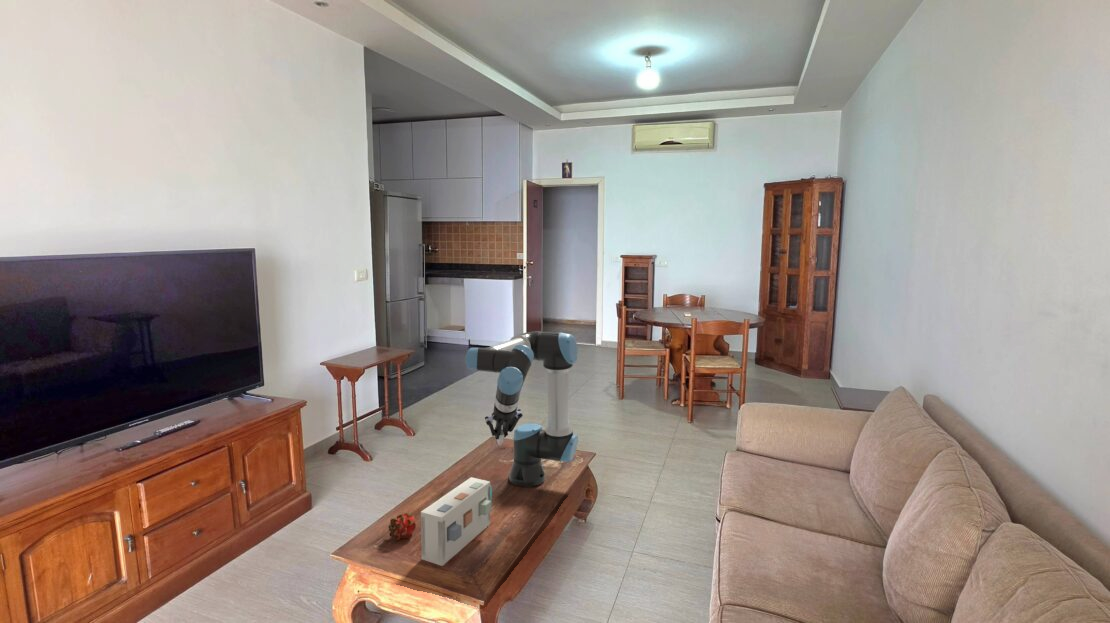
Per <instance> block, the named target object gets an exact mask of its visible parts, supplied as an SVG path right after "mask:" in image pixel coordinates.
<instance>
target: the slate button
mask: <svg viewBox="0 0 1110 623" xmlns="http://www.w3.org/2000/svg"><path fill="white" fill-rule="evenodd" d="M461 536H462V528H461V525H459V524H456V523H452V524H451V525H450V526H448V527H447V539H449V540H452V541H456V540H457V539H458V538H460V537H461Z"/></svg>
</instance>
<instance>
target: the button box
mask: <svg viewBox="0 0 1110 623" xmlns="http://www.w3.org/2000/svg"><path fill="white" fill-rule="evenodd" d="M490 486H491V481H489V480H486V479H480V478H476V477H472V476H470V477H469V478H468V479H466V480H465V481H463V482H462V483H460V484H459V485H458V486H456V487H455V488H453V489H451V490H450V491H449V492H447V493H446V494H444V495H443V496H441V497H439V499H437V500H436V501H434V502H433V503H431V504H430V505H429V506H427V507H426V508H424V509H423V510H421V511H420V538H421V539H420V540H421V541H420V542H421V544H420V546H421V560H422V561H426V562H429V563H432V564H435V565H438V566H441V567H443V566H444V565H446V564H447V563H448V562H449V561H450V560H451V559H452V558H453V557H454V556H456V555H457V554H458V553H460V552H461V551H462V549H464V548H465V547H466V546H467V545H468V544H469V543H470V542H471V541H473V540H474V539H475V538H476V537H478V535H480V534H481V533H482V532H483V531H484V530H485V529H487V528H488V527H489V526H490V525H491V512H489V513H488V514H487V515H482V514H479V502H480V501H482V500H483V499H485V500H489V501H490ZM467 511H472V522H471V523H470V524H469V525H468V526H463V515H464V514H465V513H466V512H467ZM452 523H456V524H459V525H461V528H462V536H461V537H460V538H458V539H457V540H456V541H452V540H449V539H447V527H448V526H450V525H451V524H452ZM487 526H488V527H487Z"/></svg>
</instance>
